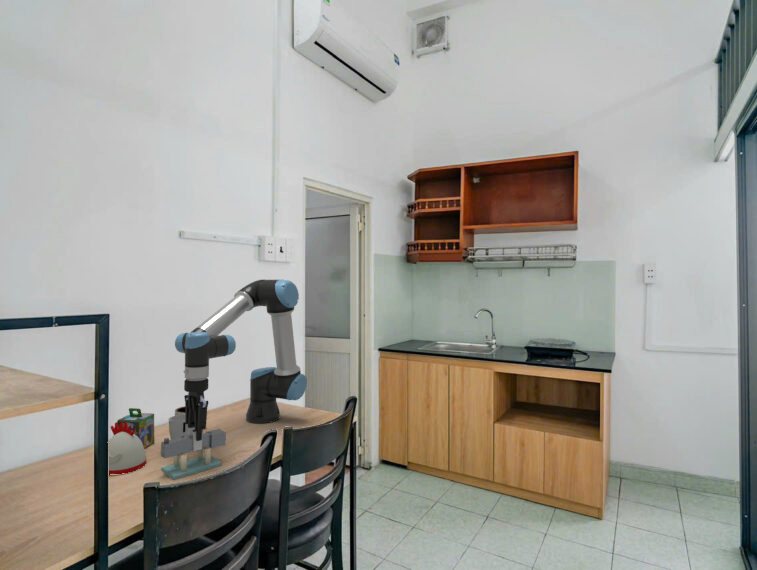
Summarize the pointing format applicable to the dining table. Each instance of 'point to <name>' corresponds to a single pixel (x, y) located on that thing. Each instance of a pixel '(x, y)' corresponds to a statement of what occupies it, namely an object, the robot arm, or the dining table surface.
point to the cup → (178, 427)
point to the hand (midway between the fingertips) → (195, 448)
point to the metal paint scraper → (186, 443)
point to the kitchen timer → (125, 450)
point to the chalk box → (140, 425)
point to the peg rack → (191, 464)
